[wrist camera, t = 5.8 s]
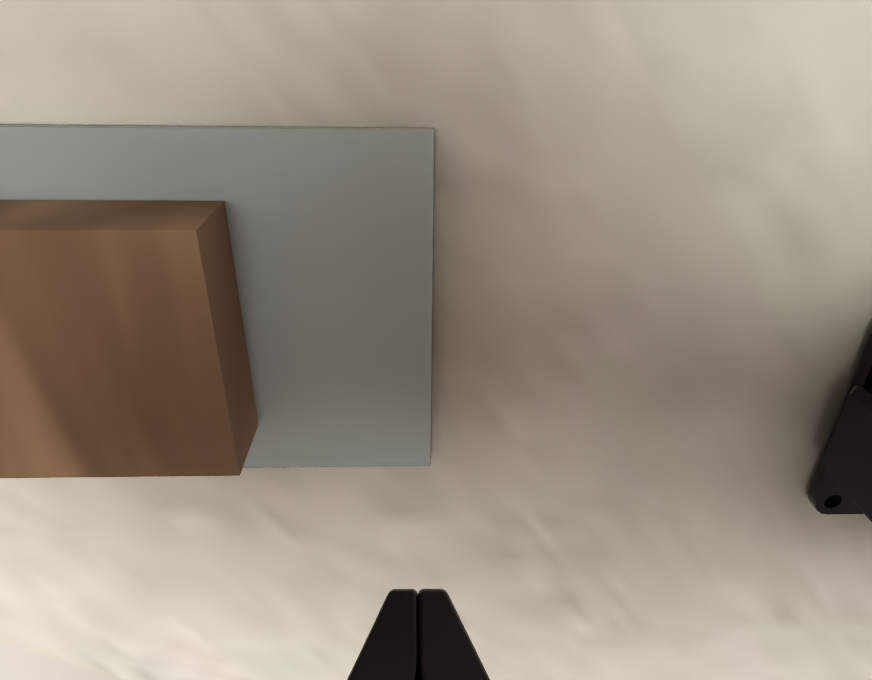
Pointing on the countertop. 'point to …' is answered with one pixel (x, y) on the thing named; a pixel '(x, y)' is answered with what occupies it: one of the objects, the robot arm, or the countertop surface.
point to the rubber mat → (289, 264)
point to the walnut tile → (121, 341)
